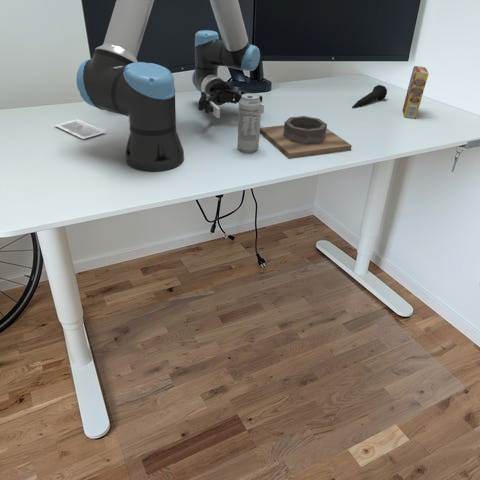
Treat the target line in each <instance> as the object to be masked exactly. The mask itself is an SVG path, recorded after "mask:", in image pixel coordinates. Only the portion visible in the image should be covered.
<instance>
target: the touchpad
mask: <svg viewBox="0 0 480 480" xmlns="http://www.w3.org/2000/svg"><path fill="white" fill-rule="evenodd" d="M54 126H55V127H58V128H59V129H61V130H64V131H66V132H68V133H69V134H72V135H73V136H76V137H78V138H80V139H82V140H85V139H87V138H91V137H95V136H98V135H101V134H105V133H107V131H105V130H103V129H101V128H99V127H96V126H94V125H92V124H89V123H87V122H85V121H83V120H80V119H78V118H76V119H73V120H72V119H71V120H69V121H64V122H61V123H58V124H55V125H54Z"/></svg>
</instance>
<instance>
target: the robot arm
mask: <svg viewBox="0 0 480 480" xmlns="http://www.w3.org/2000/svg"><path fill="white" fill-rule="evenodd" d="M154 2H155V0H116V1H115V4H114V8H113V11H112V14H111V17H110V21H109V24H108V27H107V31H106V34H105V37H104V41H103V44H102V45H100V46H98V47H95V49H94V52H93V55H92V57H91V58H89V59H86V60H85V61H83V62H82V63H81V64H80V65H79V67H78V69H77V72H76V86H77V90H78V91H79V95H80V97H81V99H82V100H83V101H84V102H85V103H86V104H88V105H89V106H91V107H94V108H97V109H99V110H101V111H108V112H111V113H115V114H118V115H122V116H125V117H126V116H127V117H128V122H129V123H128V125H129V135H128V139H127V143H126V146H125V147H126V149H125V153H124V154H125V161H126V162H125V163H126V164H127V165H128V166H130V167H131V168H134V169H136V170H141V171H146V172H160V171H161V172H162V171H168V170H171V169H173V168H176V167H178V166H180V165H181V164H182V163H183V162H184V160H185V153H184V151H185V150H184V147H183V145H182V143H181V140H180V137H179V135H178V131H177V117H176V116H177V115H176V86H175V78H174V75H173V73H172V72H171V71H170V70H169V69H168V68H167V67H166V66H162V65H160V64H156V63H152V62H144V61H138V60H137V57H138V54H139V50H140V47H141V44H142V41H143V38H144V34H145V31H146V28H147V25H148V21H149V18H150V15H151V11H152V9H153V4H154ZM209 2H210V6H211V9H212V12H213V14H214V19H215V22H216V24H217V27H218V30H219V33H218V32H217V31H214V30H209V29H207V30H205V29H204V30H198V31H197V32H195V35H194V63H195V64H194V65H195V68H194V71H193V73H192V75H191V82H192V84H193V86H194V87H195V89H196V90H197V91H199V92H200V97H199V100H198V111H203V110H204V112H205V113H206V114H209V113H212V115H213V116H214V117H215V118H216V119H220V118H221V115H220V114H221V108H220V107H219V106H222V105H225V104H226V103H227V104H239V101H240V99H241V96H242V95H243V94H247V93H250V92H249V91H246V90H244V89H240V88H239V89H238V91H235V90H232V89H231V87H230V85H229V84H228V83H227V82H226V81H225V80H223V78H221V77H219V74H218V73H219V72H218V71H219V69H218V68H219V67H225V68H230V69H235V70H240V71H247V72H252V71H255V70H256V69H257V67H258V66H259V63H260V59H261V52H260V49H259V47H258V46H256V45H253V44H251V43H250V41H249V38H248V34H247V29H246V27H245V22H244V19H243V14H242V10H241V6H240V2H239V0H209ZM219 34H220V37H221V39H220V38H219ZM251 93H252V92H251ZM252 94H254V92H253V93H252ZM258 95H259V96H260V101H261V115H263V114H264V113H265V104H264V103H263V96H262V95H260V94H258ZM264 115H265V114H264Z"/></svg>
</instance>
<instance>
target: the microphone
mask: <svg viewBox="0 0 480 480" xmlns="http://www.w3.org/2000/svg"><path fill="white" fill-rule="evenodd" d="M387 94H388V88H387V87H386V86H384V85H382V84H378V85H375V86H373V89H372V90H371V92H369V93H368V94H367V95H365V96H363V97H361V98H360V99H359V100H357V101H356V102H355V103H354V105H352V107H351V108H352V109H355V108H359V107H363V106H364V105H367V104H370V103H372V102H373V101H376V100H378V101H382V100H384V99H386V97H387Z"/></svg>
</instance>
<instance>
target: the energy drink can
mask: <svg viewBox="0 0 480 480" xmlns="http://www.w3.org/2000/svg"><path fill="white" fill-rule="evenodd" d="M259 95H260V94H256V93H253V94H252V92H249V93H247V94H243V95H242V96H241V99H240V101H239V103H238V114H237V115H238V116H237V117H238V119H237V139H236V141H237V142H236V143H237V145H236V146H237V148H238V150H239V151H240V152H242V153H247V154H250V153H255V152H256V151H257V149H259V145H260V144H259V143H260V134H261V133H260V128H261V115H262V114H261V101H260V96H261V95H260V96H259Z"/></svg>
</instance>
